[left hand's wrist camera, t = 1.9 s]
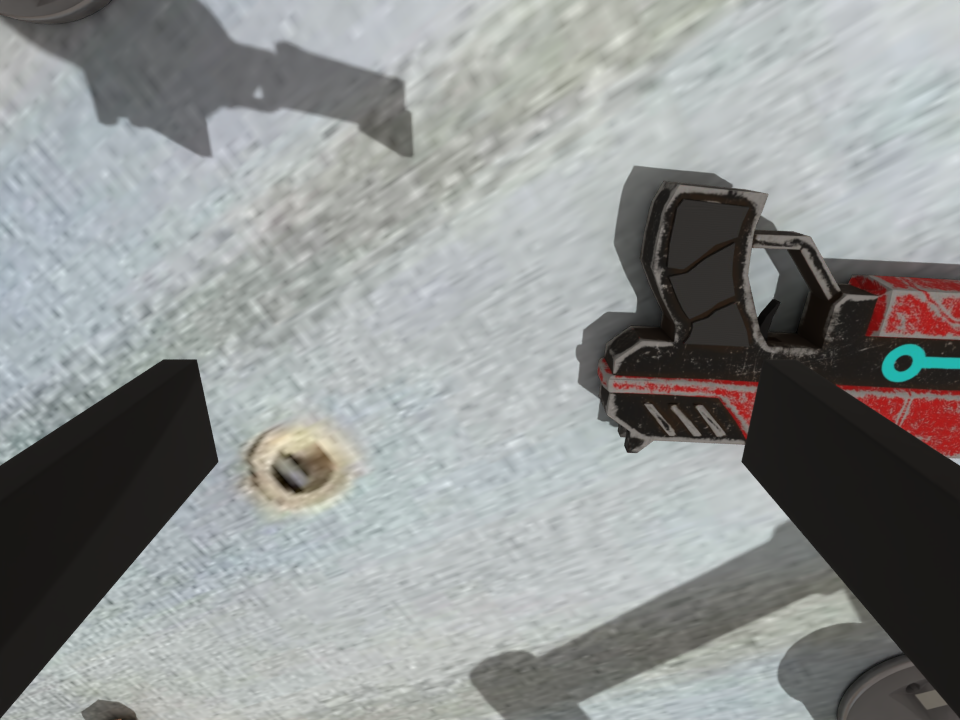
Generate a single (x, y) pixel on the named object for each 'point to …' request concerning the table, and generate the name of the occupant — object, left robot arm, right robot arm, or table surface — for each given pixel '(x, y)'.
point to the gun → (746, 341)
